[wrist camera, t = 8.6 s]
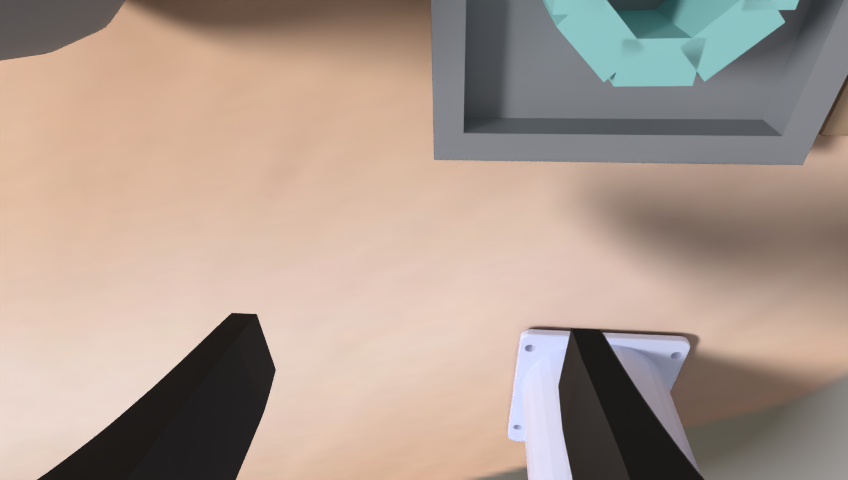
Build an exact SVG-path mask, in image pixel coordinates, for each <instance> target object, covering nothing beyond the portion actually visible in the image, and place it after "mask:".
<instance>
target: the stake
mask: <svg viewBox="0 0 848 480" xmlns="http://www.w3.org/2000/svg"><path fill="white" fill-rule="evenodd" d="M819 134H820V135H839V136H848V75H847V77H846V79H845V81H844V83H843V85H842V87H841V89H840V91H839V93H838V95H837V97H836V99H835V101H834V103H833V105H832V107H831V109H830V111H829V113H828V115H827V117H826V119H825V121H824V123H823V125H822V127H821V129H820V131H819Z"/></svg>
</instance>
